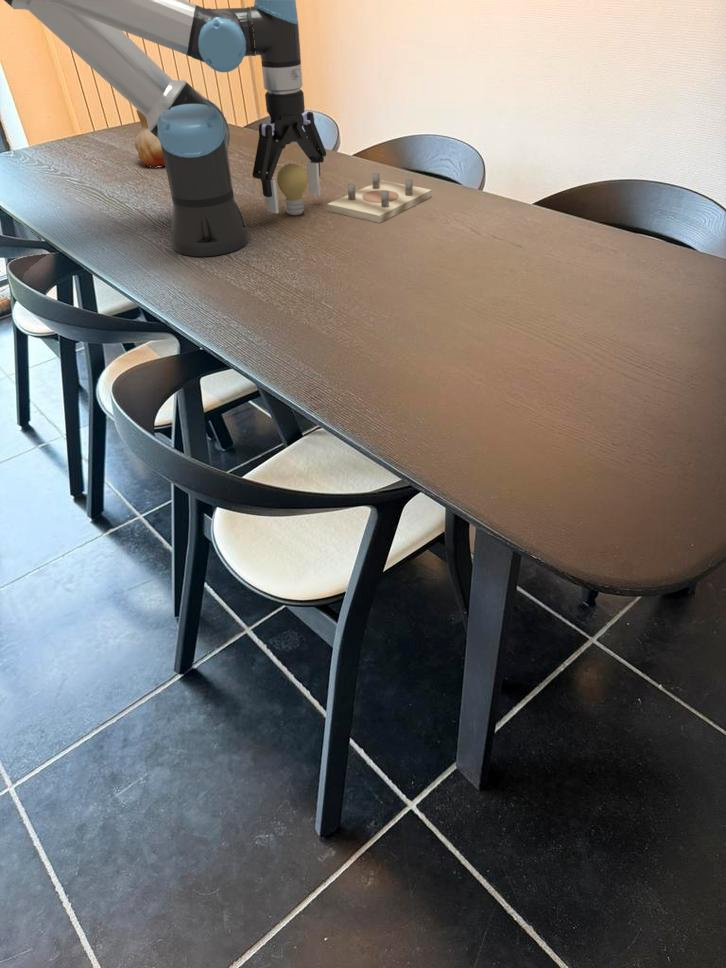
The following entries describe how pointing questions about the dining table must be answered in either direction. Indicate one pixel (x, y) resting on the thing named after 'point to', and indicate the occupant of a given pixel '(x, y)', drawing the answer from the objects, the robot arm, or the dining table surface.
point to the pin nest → (379, 199)
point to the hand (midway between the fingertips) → (294, 203)
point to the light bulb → (292, 187)
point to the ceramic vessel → (149, 144)
